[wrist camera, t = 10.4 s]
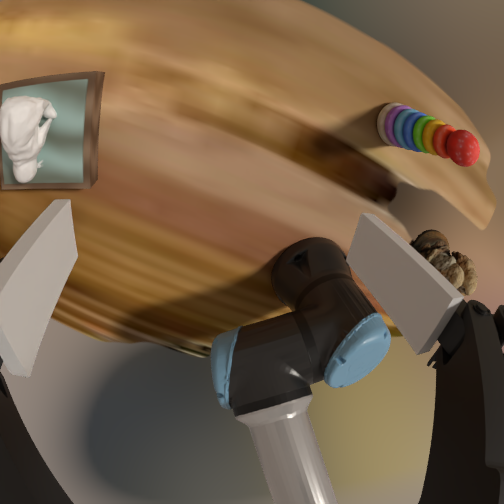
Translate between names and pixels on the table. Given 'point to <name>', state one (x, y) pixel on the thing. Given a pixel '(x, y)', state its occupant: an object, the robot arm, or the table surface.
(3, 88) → the square wooden tray
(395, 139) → the stacking toy
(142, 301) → the table surface
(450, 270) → the owl figurine
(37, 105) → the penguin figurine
